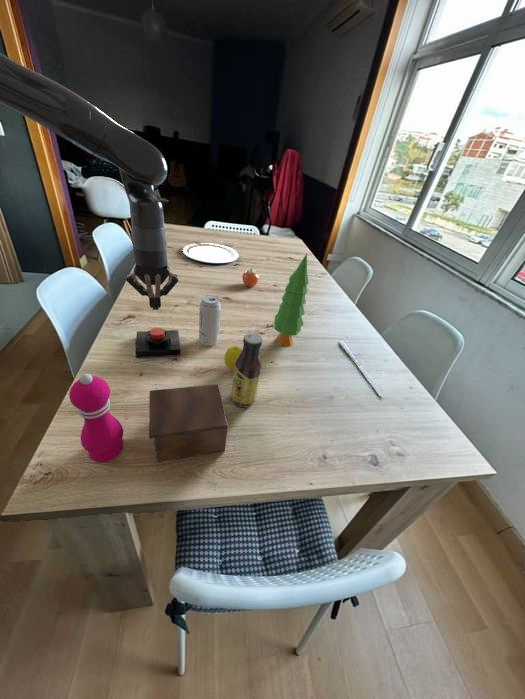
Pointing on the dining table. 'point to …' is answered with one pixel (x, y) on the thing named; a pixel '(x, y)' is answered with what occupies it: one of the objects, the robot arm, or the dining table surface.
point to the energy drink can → (209, 320)
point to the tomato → (250, 278)
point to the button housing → (157, 344)
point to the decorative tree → (292, 305)
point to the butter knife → (362, 369)
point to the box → (190, 444)
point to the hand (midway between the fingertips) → (155, 308)
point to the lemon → (232, 356)
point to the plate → (211, 253)
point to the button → (157, 333)
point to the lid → (185, 411)
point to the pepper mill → (97, 418)
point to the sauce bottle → (247, 371)
